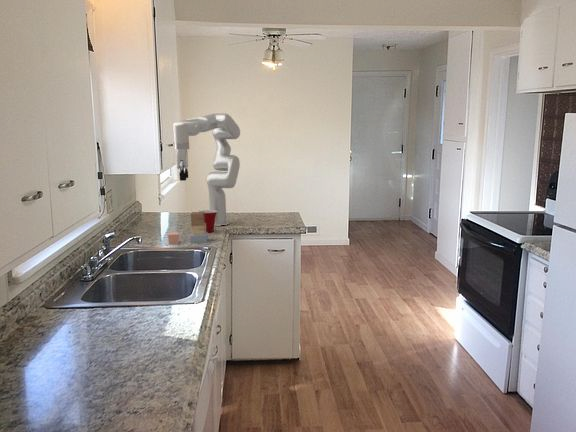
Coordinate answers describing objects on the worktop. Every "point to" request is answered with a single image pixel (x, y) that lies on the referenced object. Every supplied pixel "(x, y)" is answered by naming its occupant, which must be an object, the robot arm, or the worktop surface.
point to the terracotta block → (173, 238)
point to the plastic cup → (209, 219)
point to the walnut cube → (197, 219)
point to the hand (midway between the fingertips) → (184, 179)
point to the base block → (199, 238)
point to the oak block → (199, 230)
